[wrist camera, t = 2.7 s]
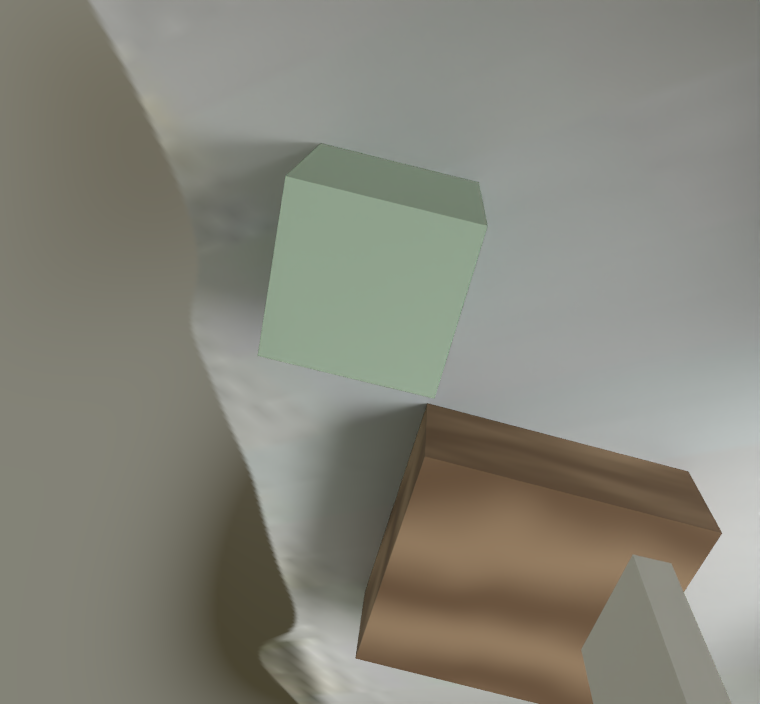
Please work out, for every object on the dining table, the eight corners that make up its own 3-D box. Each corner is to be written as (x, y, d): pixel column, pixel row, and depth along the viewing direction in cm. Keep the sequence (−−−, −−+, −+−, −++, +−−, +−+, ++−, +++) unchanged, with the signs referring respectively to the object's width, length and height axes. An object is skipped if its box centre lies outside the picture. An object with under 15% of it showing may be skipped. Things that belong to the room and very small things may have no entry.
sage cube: (321, 143, 28) (285, 176, 22) (478, 182, 28) (487, 225, 22) (295, 290, 31) (257, 355, 25) (436, 324, 31) (434, 398, 25)
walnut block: (427, 399, 34) (424, 456, 29) (685, 466, 34) (722, 533, 30) (365, 587, 40) (355, 658, 36) (583, 642, 40) (601, 719, 36)
